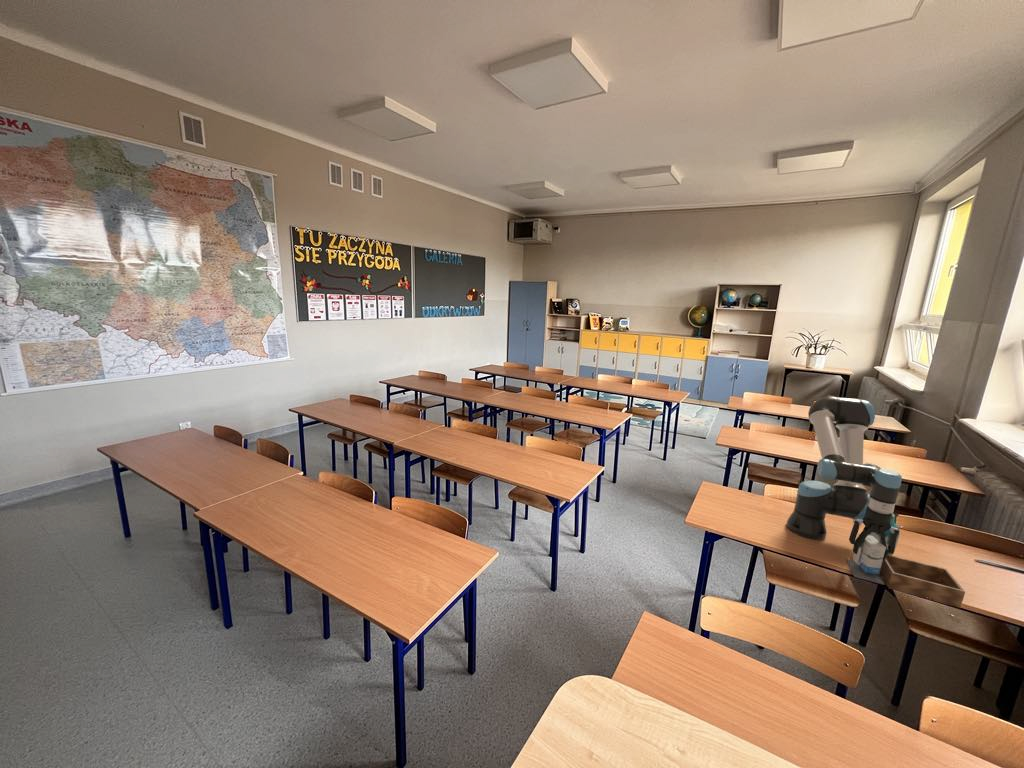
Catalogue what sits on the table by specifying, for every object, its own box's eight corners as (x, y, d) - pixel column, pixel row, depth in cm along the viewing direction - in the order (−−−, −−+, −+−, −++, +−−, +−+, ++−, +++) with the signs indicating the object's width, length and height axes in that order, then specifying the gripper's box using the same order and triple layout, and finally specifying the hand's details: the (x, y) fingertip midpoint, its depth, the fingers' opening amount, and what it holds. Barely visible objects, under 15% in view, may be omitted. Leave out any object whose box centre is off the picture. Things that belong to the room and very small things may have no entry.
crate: (888, 588, 155) (892, 572, 154) (876, 567, 168) (880, 552, 166) (960, 608, 146) (965, 591, 145) (941, 583, 159) (946, 568, 158)
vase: (898, 565, 170) (909, 522, 166) (866, 558, 173) (876, 516, 169) (885, 550, 180) (896, 510, 176) (855, 545, 183) (865, 504, 179)
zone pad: (854, 576, 161) (854, 575, 161) (846, 560, 171) (846, 558, 171) (883, 584, 157) (884, 583, 157) (874, 567, 167) (874, 566, 167)
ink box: (879, 574, 159) (886, 547, 157) (865, 572, 160) (871, 545, 158) (866, 561, 167) (872, 535, 165) (852, 559, 168) (858, 533, 166)
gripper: (851, 507, 160) (838, 561, 164) (916, 521, 151) (901, 577, 156) (846, 499, 166) (834, 551, 171) (908, 512, 158) (894, 566, 163)
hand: (866, 563), depth 164 cm, fingers closed on ink box, 6 cm apart
